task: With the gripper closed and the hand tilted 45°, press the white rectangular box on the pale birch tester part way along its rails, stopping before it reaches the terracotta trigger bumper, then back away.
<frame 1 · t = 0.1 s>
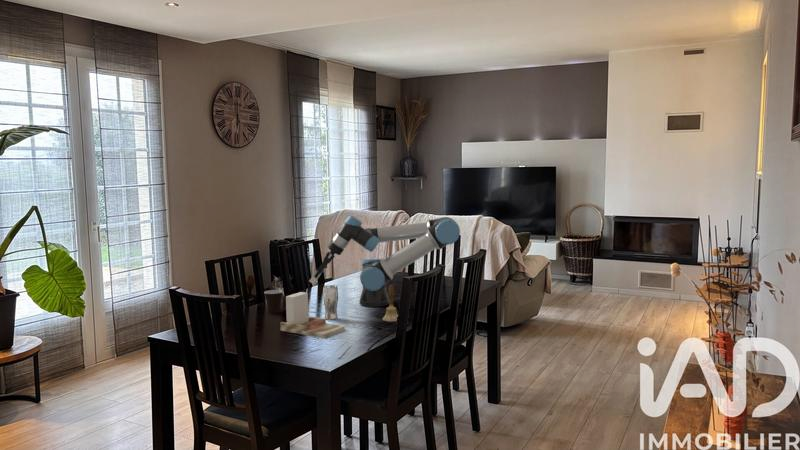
hand: (313, 280, 289), 15 cm above the table, tool tilted 35°, fingers open, 13 cm apart
press tester: (312, 330, 258), on the table
coffee mug: (275, 311, 292), on the table
beer glass: (331, 318, 277), on the table
white rectangular box: (296, 309, 261), point 8 cm above the table, slide at 0.0 cm
brush: (391, 319, 274), on the table
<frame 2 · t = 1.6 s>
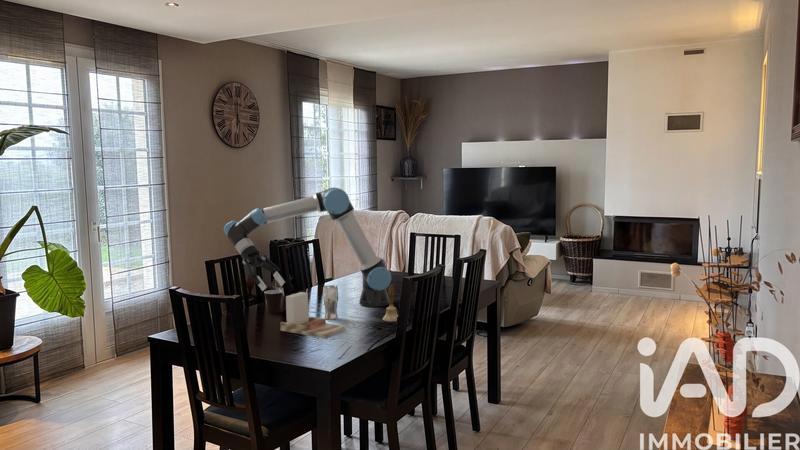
hand: (274, 286, 266), 17 cm above the table, tool tilted 45°, fingers open, 11 cm apart
nothing on the table moved.
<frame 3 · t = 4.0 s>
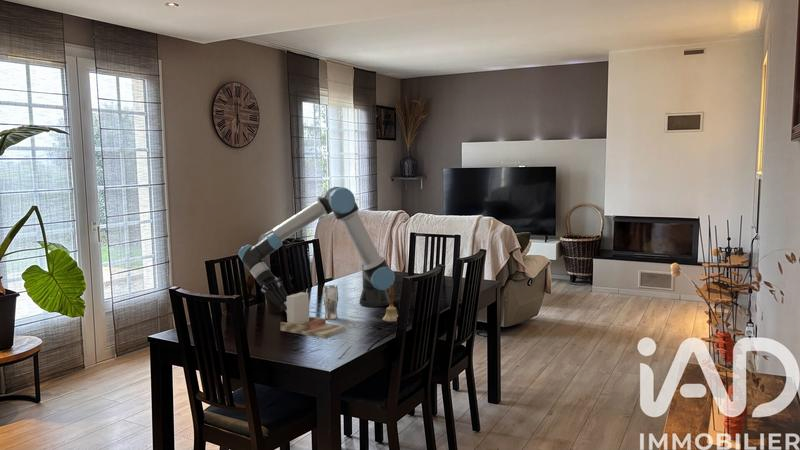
hand: (292, 314, 262), 5 cm above the table, tool tilted 45°, fingers closed
white rectangular box: (297, 309, 261), point 8 cm above the table, slide at 0.4 cm, touching gripper
everything else where it was.
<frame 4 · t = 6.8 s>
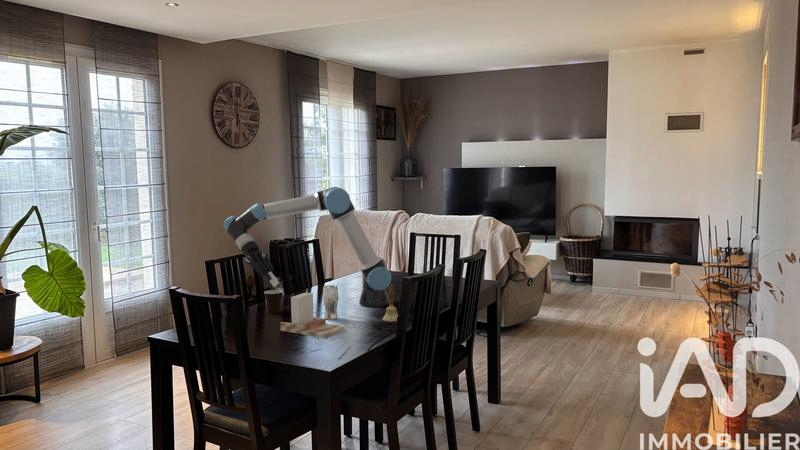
hand: (276, 284, 266), 18 cm above the table, tool tilted 45°, fingers closed
white rectangular box: (301, 309, 260), point 8 cm above the table, slide at 2.8 cm
everything else where it was.
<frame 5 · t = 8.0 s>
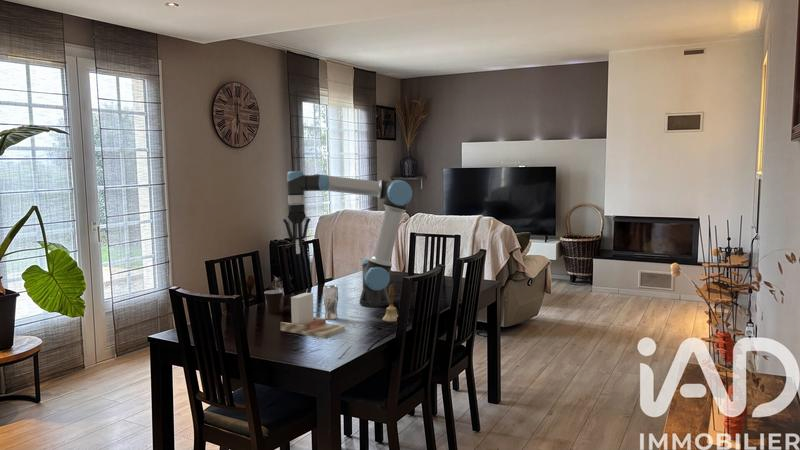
hand: (298, 253, 283), 29 cm above the table, tool pointing down, fingers closed
nothing on the table moved.
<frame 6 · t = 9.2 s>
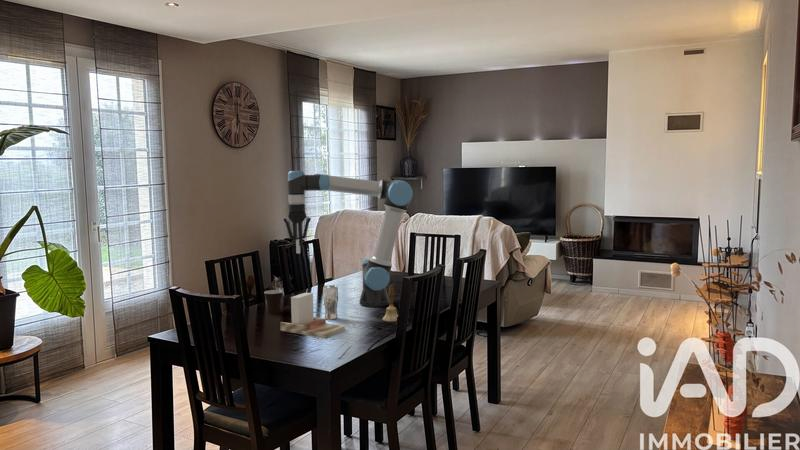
hand: (298, 253, 283), 29 cm above the table, tool pointing down, fingers closed
nothing on the table moved.
at the end: white rectangular box slide at 2.8 cm; beer glass moved 0.2 cm from its start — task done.
